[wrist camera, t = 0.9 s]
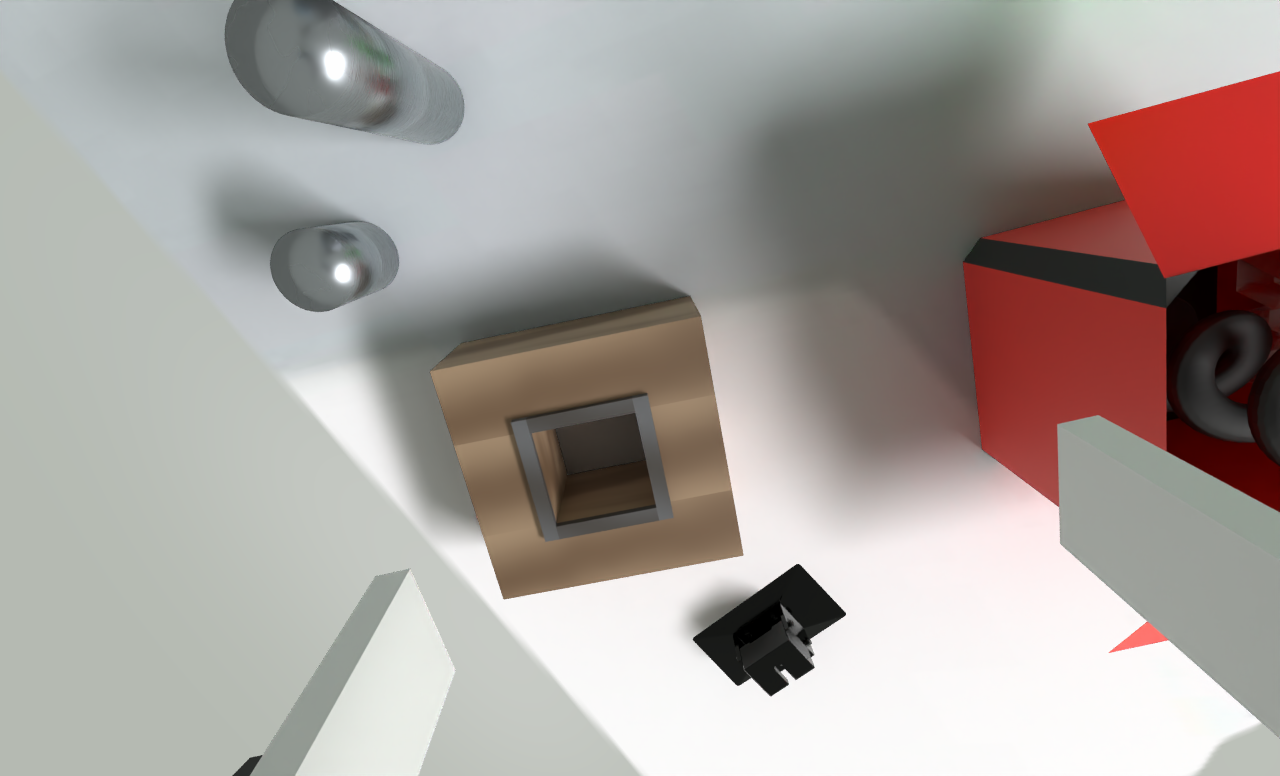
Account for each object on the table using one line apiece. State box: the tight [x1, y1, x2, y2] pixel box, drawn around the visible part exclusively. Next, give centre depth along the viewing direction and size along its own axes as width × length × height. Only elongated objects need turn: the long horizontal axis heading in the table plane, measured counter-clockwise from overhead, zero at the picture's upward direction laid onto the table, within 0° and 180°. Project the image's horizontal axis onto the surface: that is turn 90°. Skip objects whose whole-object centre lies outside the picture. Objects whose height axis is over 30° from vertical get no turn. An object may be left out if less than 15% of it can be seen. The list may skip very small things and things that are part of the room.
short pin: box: [270, 222, 399, 312], centre depth 33 cm, size 4×4×6 cm
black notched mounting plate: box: [693, 564, 846, 696], centre depth 42 cm, size 12×7×5 cm, turn 130°
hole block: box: [430, 296, 743, 599], centre depth 36 cm, size 14×14×6 cm
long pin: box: [225, 0, 464, 144], centre depth 27 cm, size 4×4×14 cm
